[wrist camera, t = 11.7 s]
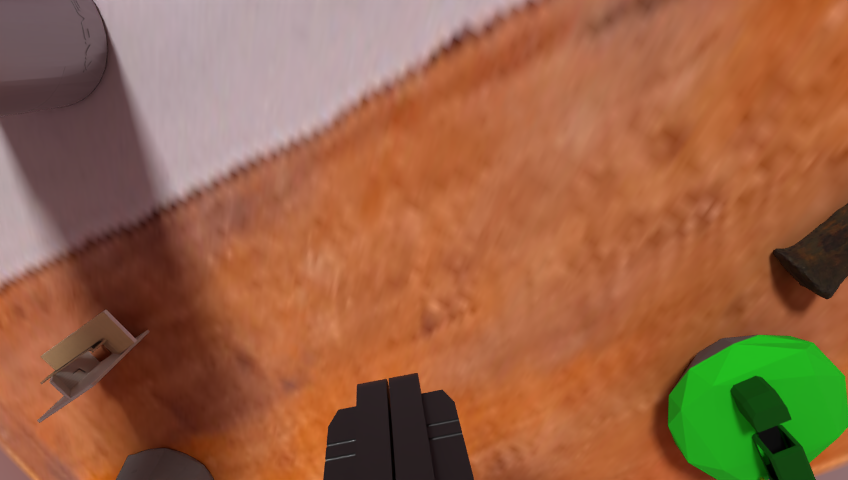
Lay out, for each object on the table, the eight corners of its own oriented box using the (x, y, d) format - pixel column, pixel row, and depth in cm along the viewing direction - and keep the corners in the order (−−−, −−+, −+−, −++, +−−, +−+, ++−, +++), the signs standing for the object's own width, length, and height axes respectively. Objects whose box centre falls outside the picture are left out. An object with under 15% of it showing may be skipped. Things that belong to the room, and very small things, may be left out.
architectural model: (72, 331, 41) (-3, 389, 34) (132, 288, 40) (67, 339, 33) (103, 362, 42) (37, 424, 35) (163, 320, 41) (106, 377, 34)
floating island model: (815, 395, 41) (945, 512, 31) (675, 452, 43) (753, 579, 33) (771, 277, 37) (902, 364, 27) (621, 345, 40) (689, 450, 29)
